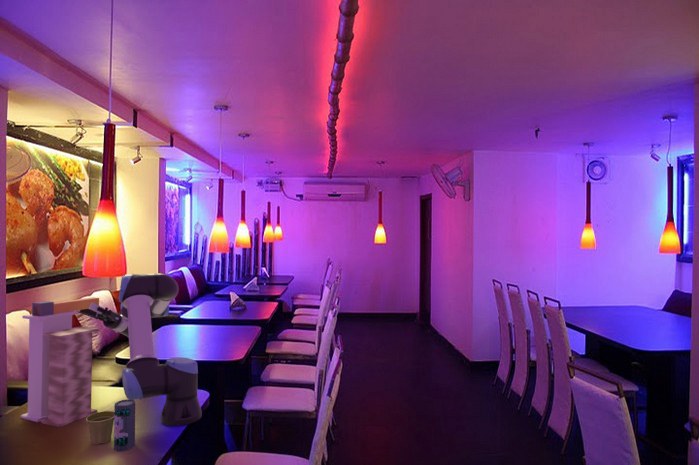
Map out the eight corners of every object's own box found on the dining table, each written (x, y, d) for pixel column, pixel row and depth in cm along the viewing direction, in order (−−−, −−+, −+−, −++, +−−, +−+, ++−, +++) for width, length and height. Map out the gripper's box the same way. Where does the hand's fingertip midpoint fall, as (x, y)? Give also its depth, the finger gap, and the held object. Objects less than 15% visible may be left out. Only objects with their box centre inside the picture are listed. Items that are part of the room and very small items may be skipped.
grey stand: (60, 404, 191) (61, 309, 192) (76, 407, 188) (78, 311, 188) (20, 417, 177) (22, 315, 177) (37, 422, 173) (39, 317, 173)
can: (110, 447, 153) (111, 403, 153) (128, 441, 158) (129, 398, 158) (120, 452, 149) (121, 407, 149) (137, 445, 154) (138, 402, 154)
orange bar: (91, 306, 202) (91, 295, 202) (100, 307, 200) (100, 295, 200) (32, 315, 178) (32, 302, 178) (40, 316, 176) (41, 303, 176)
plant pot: (103, 448, 152) (103, 422, 152) (78, 445, 154) (79, 420, 154) (122, 436, 162) (122, 412, 162) (99, 433, 163) (99, 409, 163)
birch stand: (80, 408, 187) (81, 326, 187) (97, 412, 183) (98, 328, 183) (41, 422, 172) (42, 333, 172) (58, 427, 168) (60, 336, 169)
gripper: (132, 331, 204) (96, 314, 187) (92, 326, 214) (55, 310, 197) (139, 316, 208) (104, 298, 191) (100, 312, 217) (63, 294, 200)
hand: (79, 304), depth 194 cm, fingers open, 13 cm apart
